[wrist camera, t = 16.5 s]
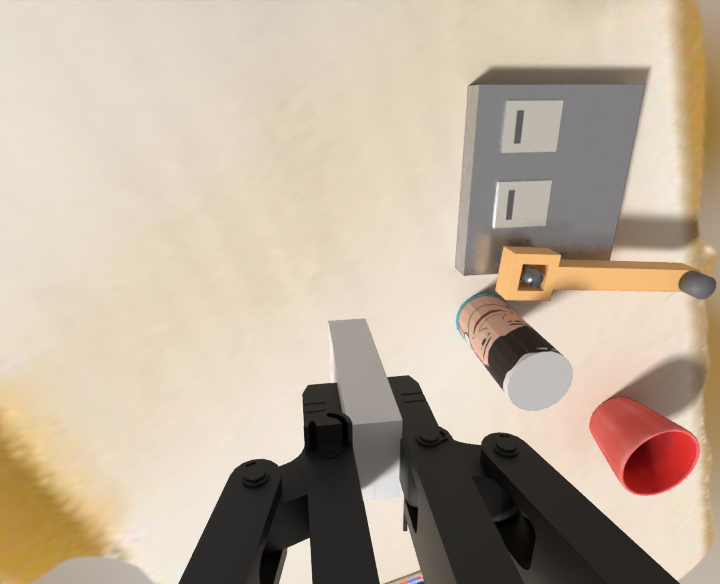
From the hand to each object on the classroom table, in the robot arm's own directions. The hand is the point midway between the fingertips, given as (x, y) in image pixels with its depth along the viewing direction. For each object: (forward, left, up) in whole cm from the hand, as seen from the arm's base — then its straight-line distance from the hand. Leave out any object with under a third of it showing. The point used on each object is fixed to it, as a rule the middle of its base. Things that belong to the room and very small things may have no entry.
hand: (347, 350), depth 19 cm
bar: (+9, +32, -30) cm, 44 cm away
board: (-1, +26, -34) cm, 43 cm away
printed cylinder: (+16, +21, -35) cm, 44 cm away
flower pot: (+34, +43, -35) cm, 65 cm away
